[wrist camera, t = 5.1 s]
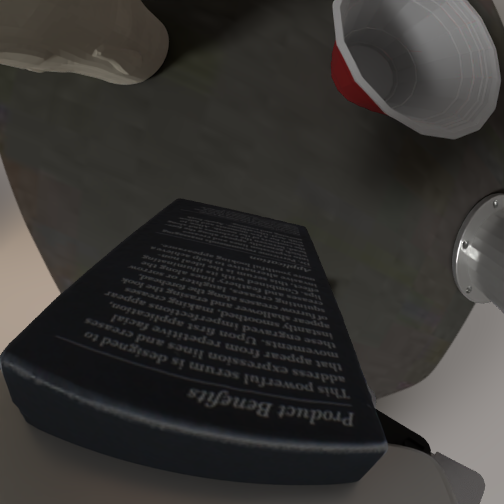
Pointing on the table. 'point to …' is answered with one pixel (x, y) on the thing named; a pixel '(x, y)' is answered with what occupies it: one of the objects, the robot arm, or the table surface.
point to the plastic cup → (417, 63)
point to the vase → (83, 38)
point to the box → (203, 356)
